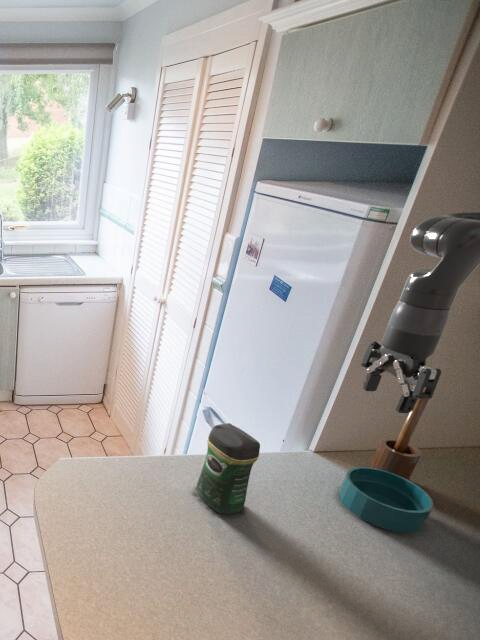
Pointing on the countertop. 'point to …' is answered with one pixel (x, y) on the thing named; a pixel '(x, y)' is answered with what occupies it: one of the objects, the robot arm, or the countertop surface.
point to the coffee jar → (227, 468)
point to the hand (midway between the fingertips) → (384, 400)
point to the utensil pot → (395, 458)
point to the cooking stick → (410, 425)
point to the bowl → (385, 499)
